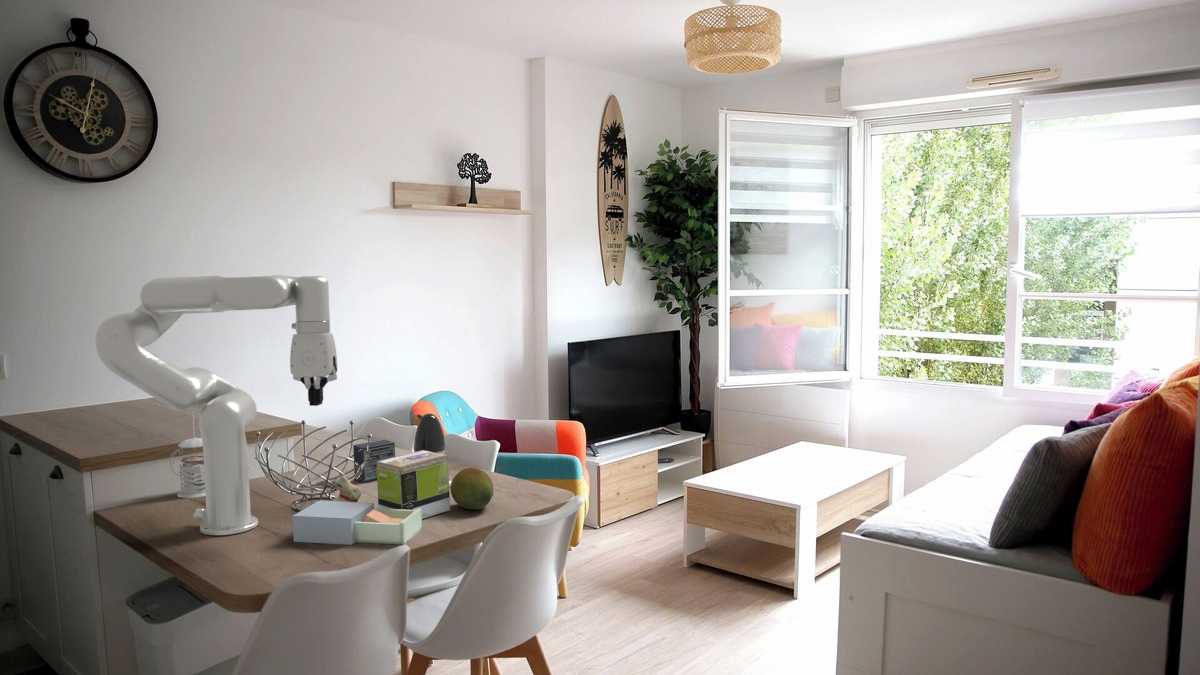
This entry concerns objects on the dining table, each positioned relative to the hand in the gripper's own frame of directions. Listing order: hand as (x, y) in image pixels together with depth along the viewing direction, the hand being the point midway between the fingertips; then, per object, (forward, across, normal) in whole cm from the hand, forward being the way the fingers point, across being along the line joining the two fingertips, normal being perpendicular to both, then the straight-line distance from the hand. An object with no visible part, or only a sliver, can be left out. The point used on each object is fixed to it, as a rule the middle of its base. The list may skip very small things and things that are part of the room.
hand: (315, 404), depth 194 cm
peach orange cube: (+25, +23, -8) cm, 35 cm away
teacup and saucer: (+30, +18, +34) cm, 49 cm away
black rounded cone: (+29, +3, +65) cm, 71 cm away
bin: (+29, +20, -6) cm, 36 cm away
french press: (+29, -48, +20) cm, 60 cm away
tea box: (+29, +20, +10) cm, 37 cm away
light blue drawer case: (+29, +8, -7) cm, 31 cm away
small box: (+29, -5, +42) cm, 52 cm away
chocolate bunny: (+29, +2, +8) cm, 31 cm away
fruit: (+29, +33, +18) cm, 48 cm away
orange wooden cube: (+28, +17, -7) cm, 33 cm away
